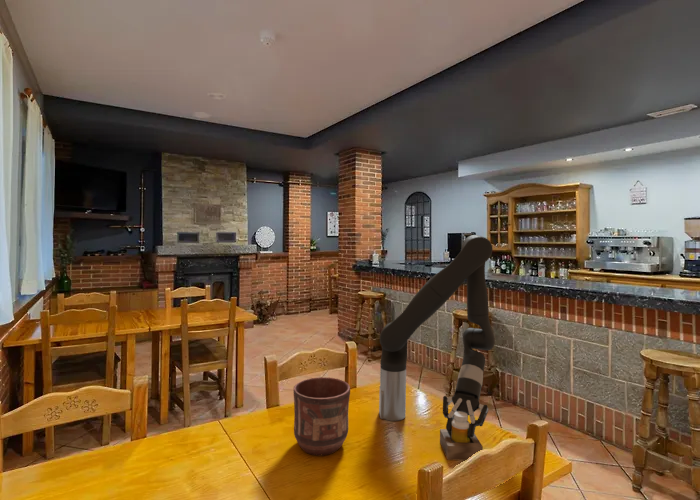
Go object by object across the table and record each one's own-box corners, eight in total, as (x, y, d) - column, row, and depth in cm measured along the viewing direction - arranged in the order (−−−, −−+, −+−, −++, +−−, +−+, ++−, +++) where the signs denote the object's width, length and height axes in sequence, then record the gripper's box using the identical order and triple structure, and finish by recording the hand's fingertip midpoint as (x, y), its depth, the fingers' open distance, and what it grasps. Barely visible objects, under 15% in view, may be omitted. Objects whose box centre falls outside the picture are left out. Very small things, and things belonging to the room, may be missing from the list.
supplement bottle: (470, 451, 114) (471, 419, 114) (451, 449, 115) (452, 417, 115) (468, 442, 120) (469, 411, 119) (450, 440, 121) (451, 409, 120)
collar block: (447, 459, 112) (447, 445, 112) (439, 441, 122) (440, 429, 122) (482, 460, 112) (482, 446, 112) (471, 442, 122) (472, 429, 122)
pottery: (362, 444, 120) (362, 386, 120) (319, 468, 107) (320, 403, 107) (322, 426, 132) (323, 373, 132) (280, 445, 119) (280, 386, 119)
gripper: (445, 372, 127) (432, 423, 117) (491, 381, 120) (482, 436, 110) (449, 383, 132) (438, 433, 122) (494, 392, 125) (485, 446, 115)
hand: (459, 434), depth 116 cm, fingers closed on supplement bottle, 5 cm apart
